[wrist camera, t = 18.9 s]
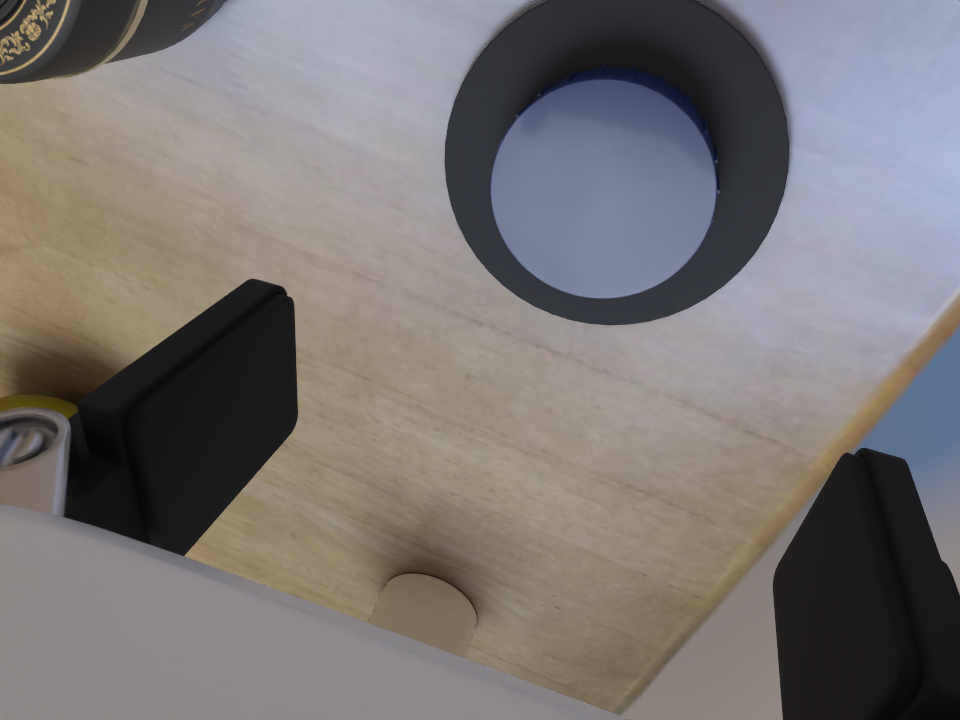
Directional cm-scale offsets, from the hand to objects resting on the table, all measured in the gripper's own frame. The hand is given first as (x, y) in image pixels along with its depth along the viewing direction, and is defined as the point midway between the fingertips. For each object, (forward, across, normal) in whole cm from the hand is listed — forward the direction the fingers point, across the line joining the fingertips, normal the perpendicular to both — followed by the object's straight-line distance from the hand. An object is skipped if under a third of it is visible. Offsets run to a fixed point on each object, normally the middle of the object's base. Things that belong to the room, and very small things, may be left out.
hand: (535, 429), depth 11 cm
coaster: (+14, +1, 0) cm, 14 cm away
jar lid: (+11, +1, 0) cm, 11 cm away
